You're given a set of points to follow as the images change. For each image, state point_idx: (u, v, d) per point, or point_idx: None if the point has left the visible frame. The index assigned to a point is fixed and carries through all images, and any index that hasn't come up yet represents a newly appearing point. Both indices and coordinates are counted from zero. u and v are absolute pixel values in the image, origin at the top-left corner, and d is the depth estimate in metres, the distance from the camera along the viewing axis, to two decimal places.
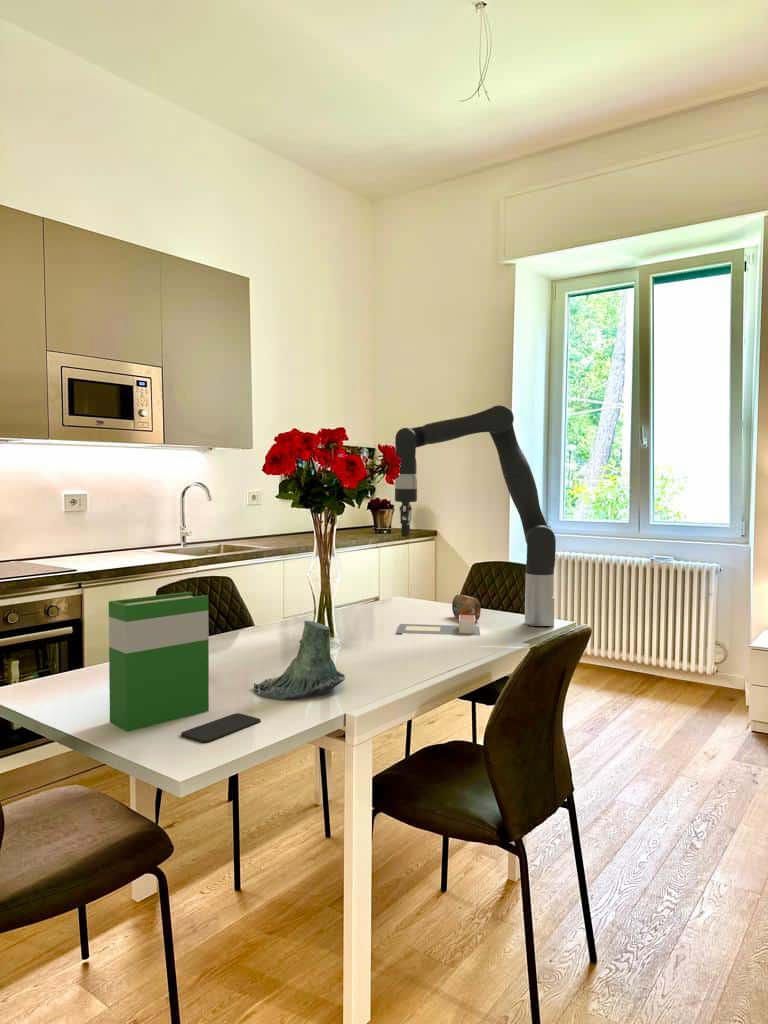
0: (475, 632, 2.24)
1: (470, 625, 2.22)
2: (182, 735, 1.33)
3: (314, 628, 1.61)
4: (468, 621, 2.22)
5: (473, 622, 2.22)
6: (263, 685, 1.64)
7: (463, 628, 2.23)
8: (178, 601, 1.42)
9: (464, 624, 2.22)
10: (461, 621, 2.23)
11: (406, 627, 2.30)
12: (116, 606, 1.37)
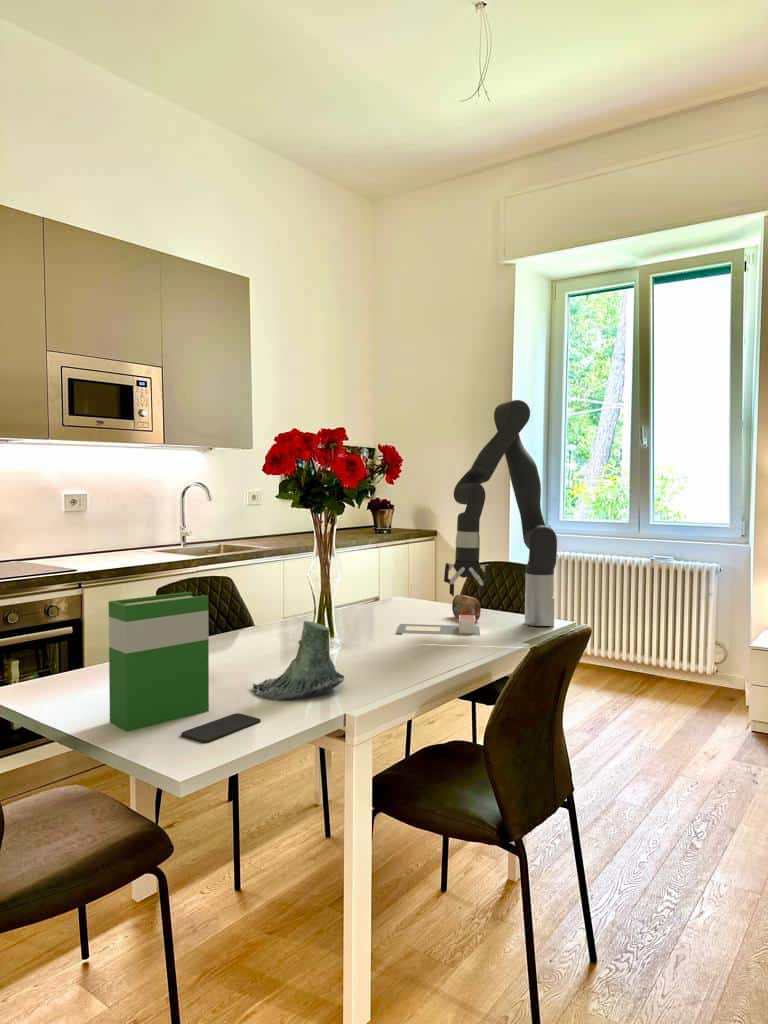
0: (475, 632, 2.24)
1: (470, 625, 2.22)
2: (182, 735, 1.33)
3: (313, 629, 1.60)
4: (468, 621, 2.22)
5: (473, 622, 2.22)
6: (262, 685, 1.64)
7: (463, 628, 2.23)
8: (178, 601, 1.42)
9: (464, 624, 2.22)
10: (461, 621, 2.23)
11: (406, 627, 2.30)
12: (116, 606, 1.37)
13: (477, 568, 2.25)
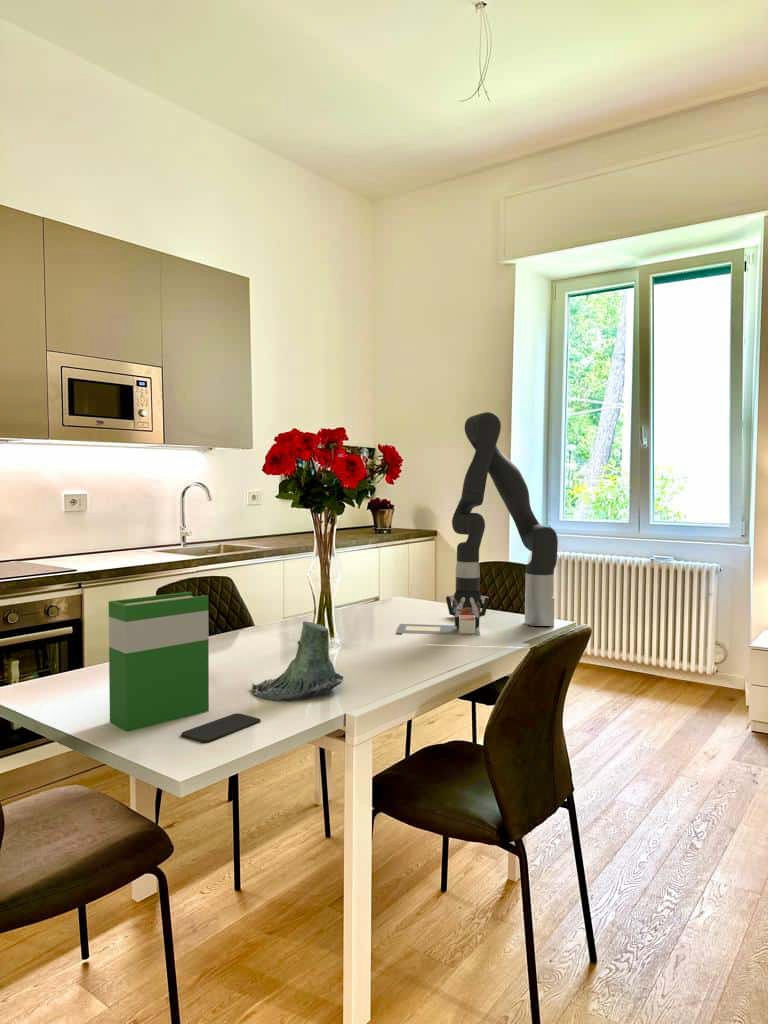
0: (475, 632, 2.24)
1: (470, 625, 2.22)
2: (182, 735, 1.33)
3: (311, 629, 1.60)
4: (468, 621, 2.22)
5: (473, 622, 2.22)
6: (262, 686, 1.64)
7: (463, 628, 2.23)
8: (178, 601, 1.42)
9: (464, 624, 2.22)
10: (461, 621, 2.23)
11: (406, 627, 2.30)
12: (116, 606, 1.37)
13: (477, 598, 2.25)
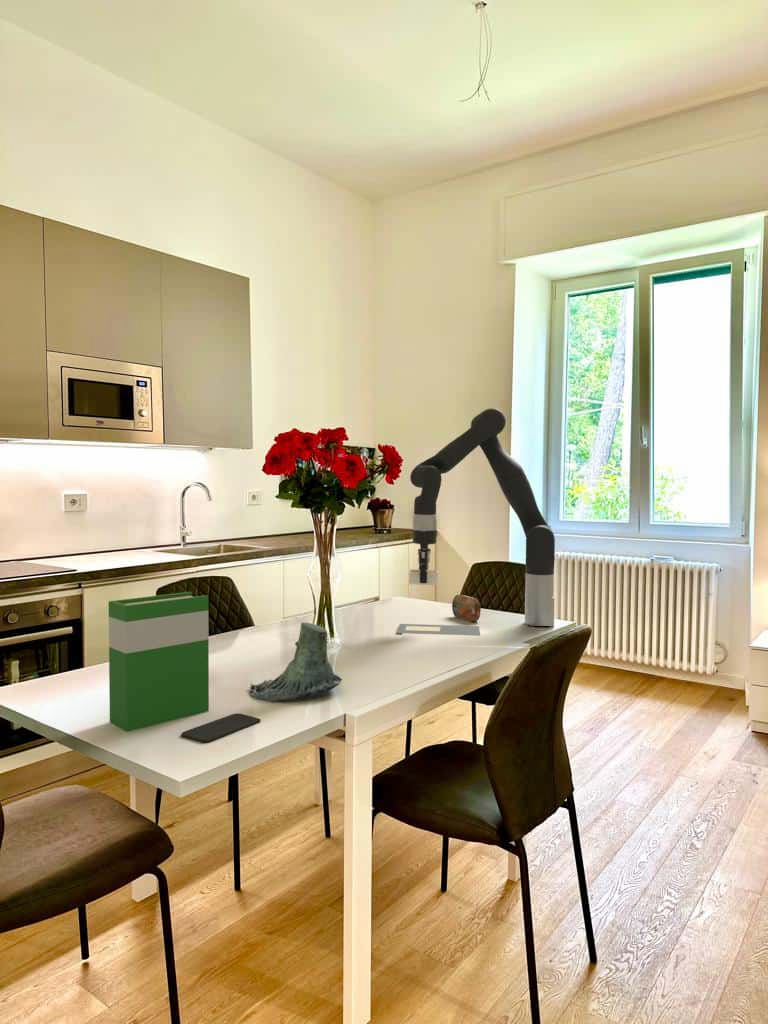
0: (475, 632, 2.24)
1: None
2: (182, 735, 1.33)
3: (309, 630, 1.59)
4: None
5: None
6: (260, 686, 1.64)
7: None
8: (178, 601, 1.42)
9: None
10: (437, 573, 2.25)
11: (406, 627, 2.30)
12: (116, 606, 1.37)
13: None
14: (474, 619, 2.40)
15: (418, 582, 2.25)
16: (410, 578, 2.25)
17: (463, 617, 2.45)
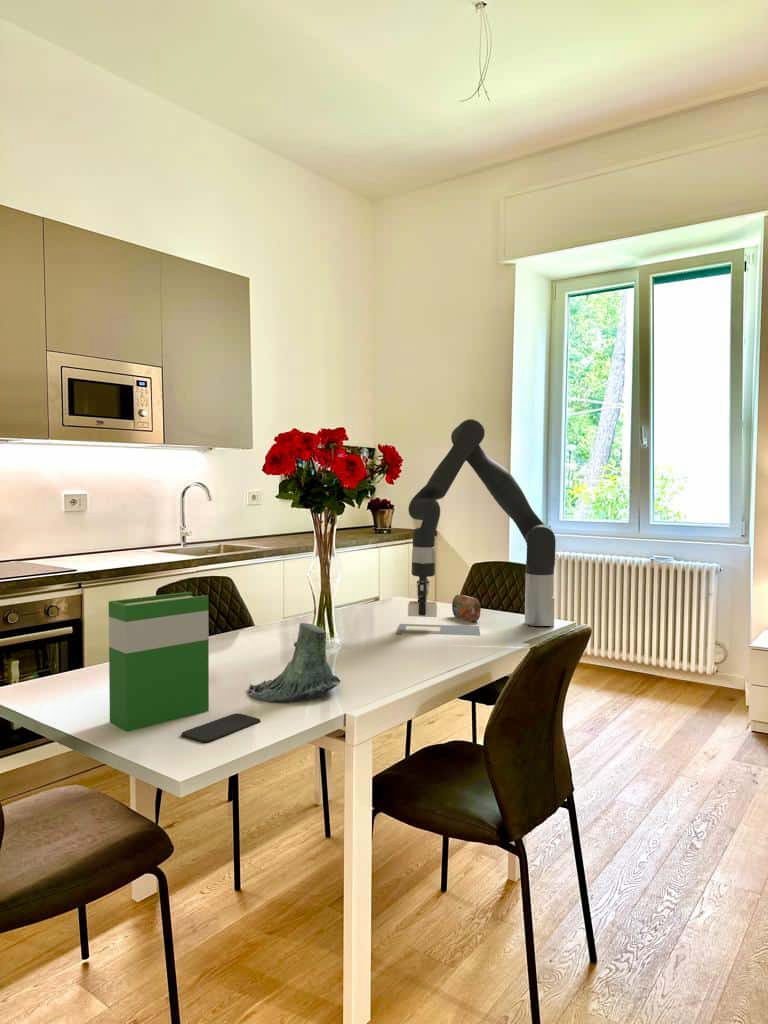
0: (475, 632, 2.24)
1: None
2: (182, 735, 1.33)
3: (307, 631, 1.58)
4: (436, 603, 2.28)
5: None
6: (259, 686, 1.63)
7: (436, 611, 2.27)
8: (178, 601, 1.42)
9: None
10: (436, 605, 2.26)
11: (406, 627, 2.30)
12: (116, 606, 1.37)
13: None
14: (474, 619, 2.40)
15: (417, 614, 2.26)
16: (409, 610, 2.26)
17: (463, 617, 2.45)
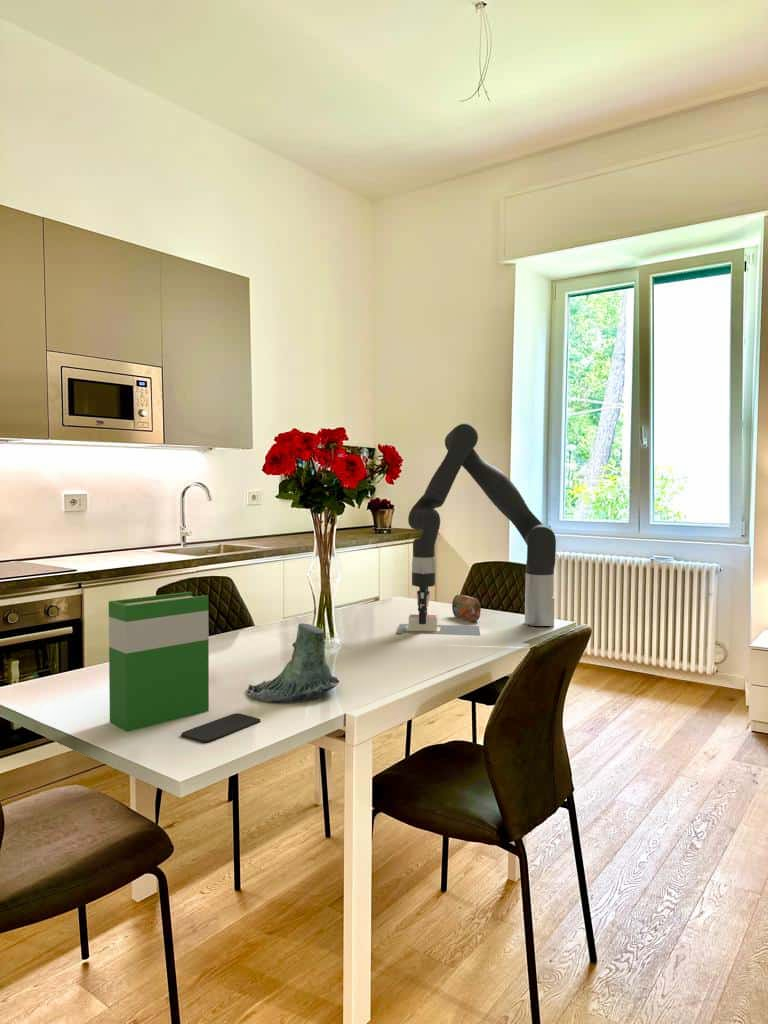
0: (475, 632, 2.24)
1: None
2: (182, 735, 1.33)
3: (305, 631, 1.58)
4: None
5: None
6: (259, 686, 1.63)
7: None
8: (178, 601, 1.42)
9: None
10: None
11: (406, 627, 2.30)
12: (116, 606, 1.37)
13: None
14: (474, 619, 2.40)
15: (417, 628, 2.26)
16: (409, 624, 2.26)
17: (463, 617, 2.45)
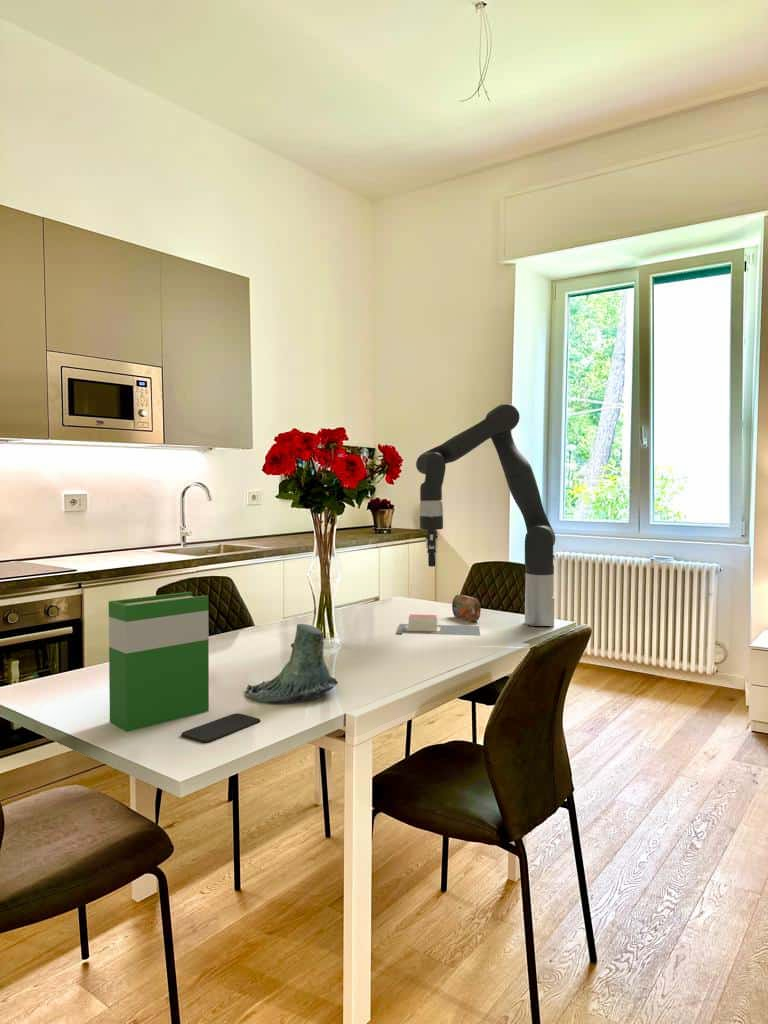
0: (475, 632, 2.24)
1: None
2: (182, 735, 1.33)
3: (303, 632, 1.57)
4: None
5: None
6: (258, 687, 1.63)
7: None
8: (178, 601, 1.42)
9: None
10: None
11: (406, 627, 2.30)
12: (116, 606, 1.37)
13: None
14: (474, 619, 2.40)
15: (417, 628, 2.26)
16: (409, 624, 2.26)
17: (463, 617, 2.45)
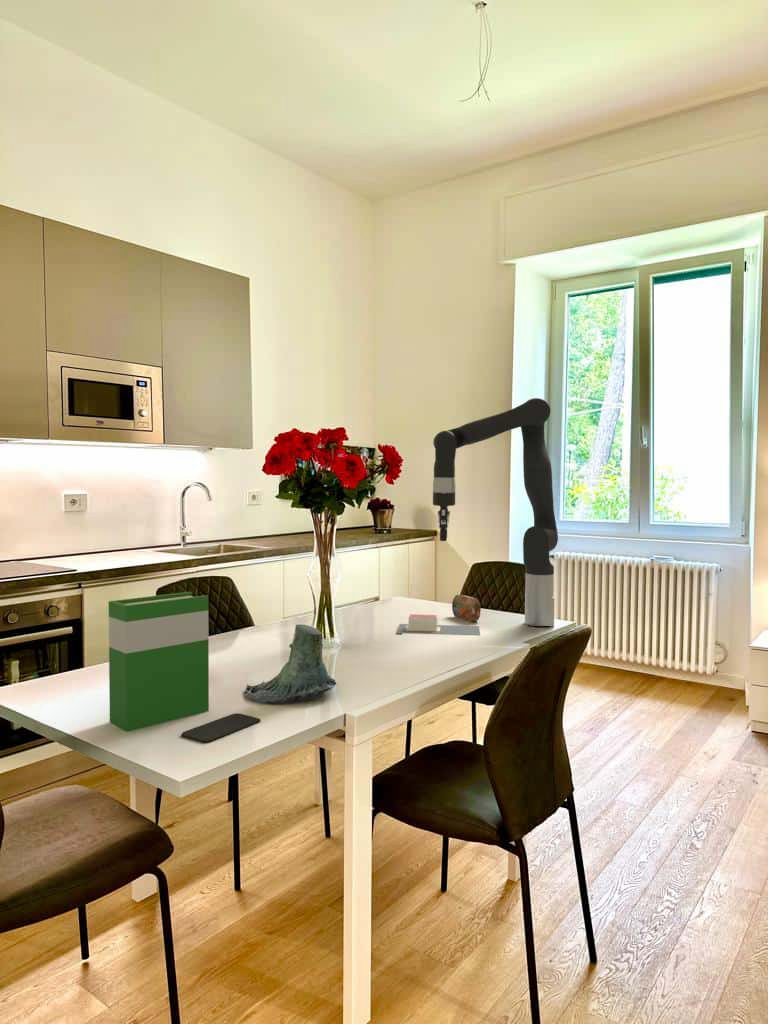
0: (475, 632, 2.24)
1: None
2: (182, 735, 1.33)
3: (302, 632, 1.56)
4: None
5: None
6: (257, 687, 1.63)
7: None
8: (178, 601, 1.42)
9: None
10: None
11: (406, 627, 2.30)
12: (116, 606, 1.37)
13: None
14: (474, 619, 2.40)
15: (417, 628, 2.26)
16: (409, 624, 2.26)
17: (463, 617, 2.45)
